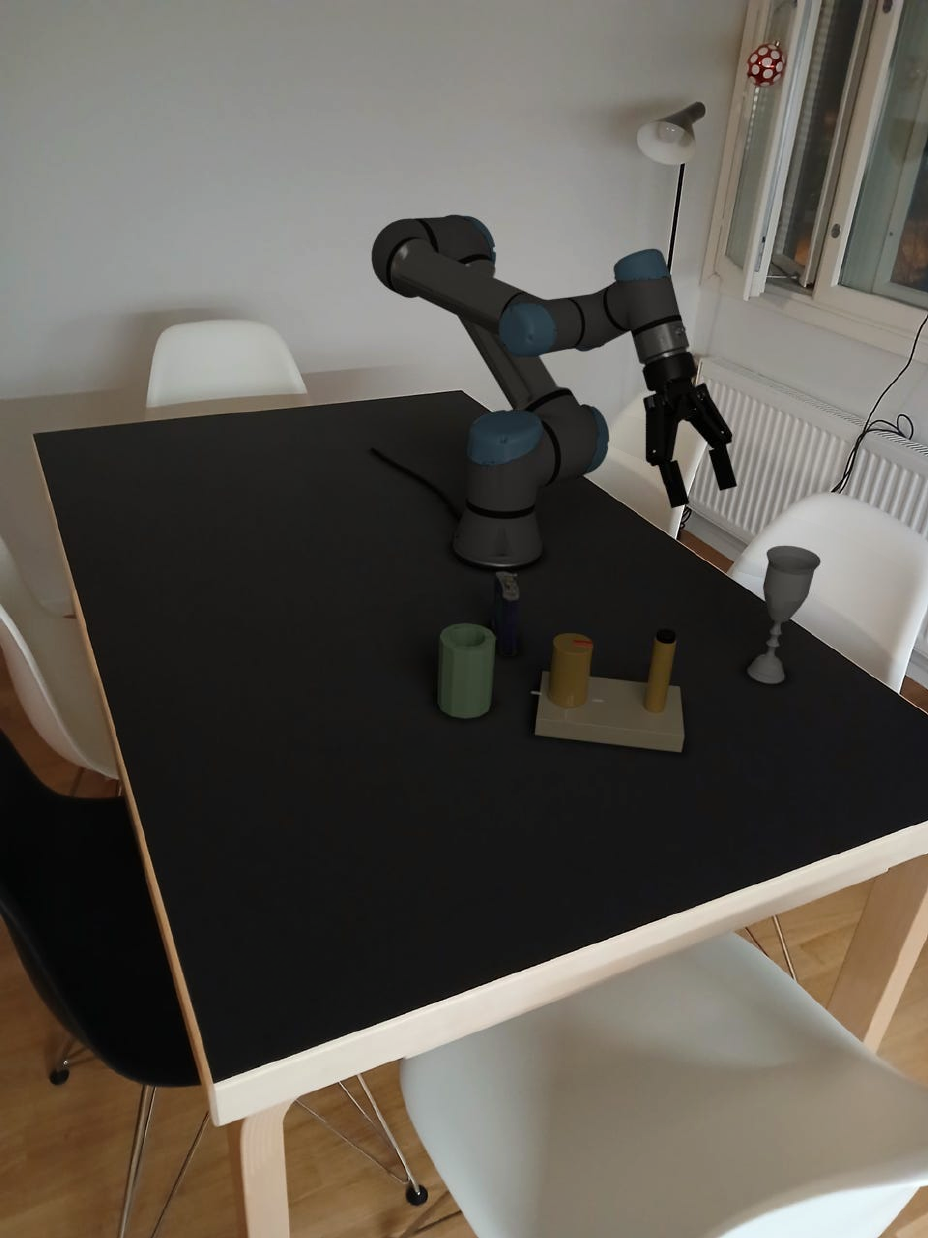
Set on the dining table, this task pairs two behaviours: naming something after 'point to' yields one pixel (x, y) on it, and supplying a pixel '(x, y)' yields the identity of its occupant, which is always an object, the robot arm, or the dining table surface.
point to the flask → (506, 612)
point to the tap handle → (570, 670)
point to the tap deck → (613, 716)
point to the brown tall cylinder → (660, 670)
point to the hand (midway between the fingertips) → (705, 497)
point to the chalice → (783, 601)
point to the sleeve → (465, 670)
